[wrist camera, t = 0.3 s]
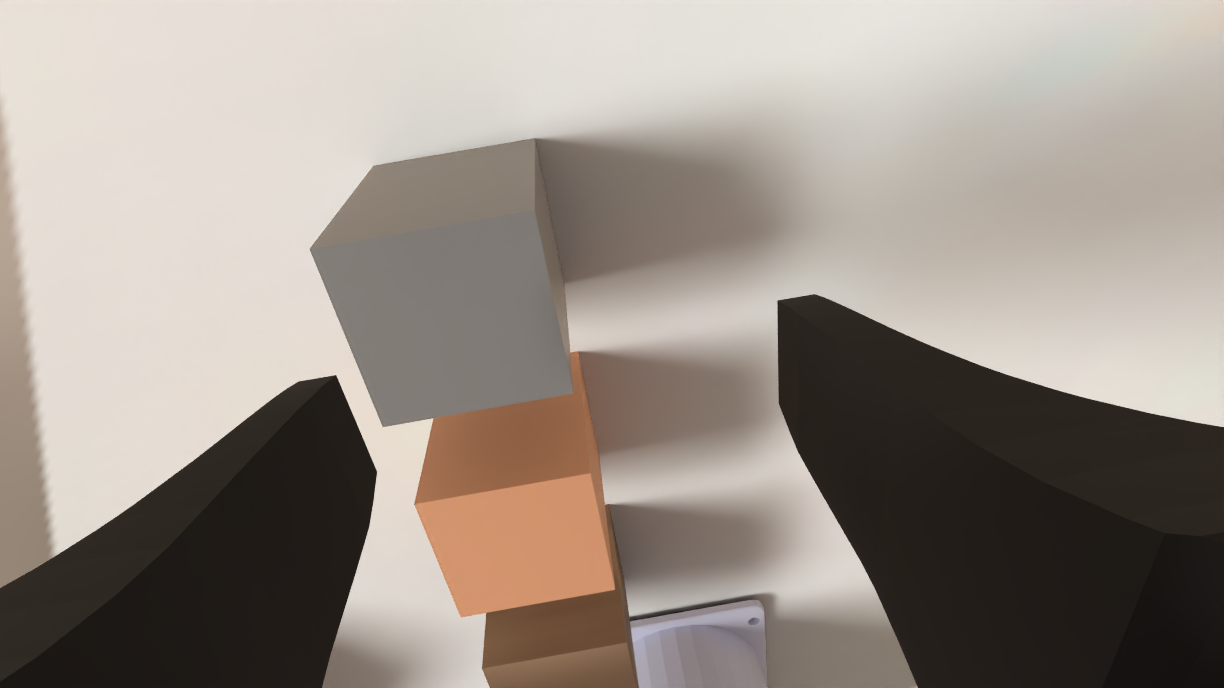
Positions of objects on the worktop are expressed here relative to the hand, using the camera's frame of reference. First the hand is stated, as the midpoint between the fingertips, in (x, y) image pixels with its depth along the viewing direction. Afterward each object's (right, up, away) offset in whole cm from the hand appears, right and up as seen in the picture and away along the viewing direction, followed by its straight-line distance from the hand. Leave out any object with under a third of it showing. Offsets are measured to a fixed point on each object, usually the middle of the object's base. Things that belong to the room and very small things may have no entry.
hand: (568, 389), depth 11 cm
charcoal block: (-3, +4, +9) cm, 10 cm away
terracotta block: (-2, -2, +12) cm, 12 cm away
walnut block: (-1, -8, +16) cm, 18 cm away
